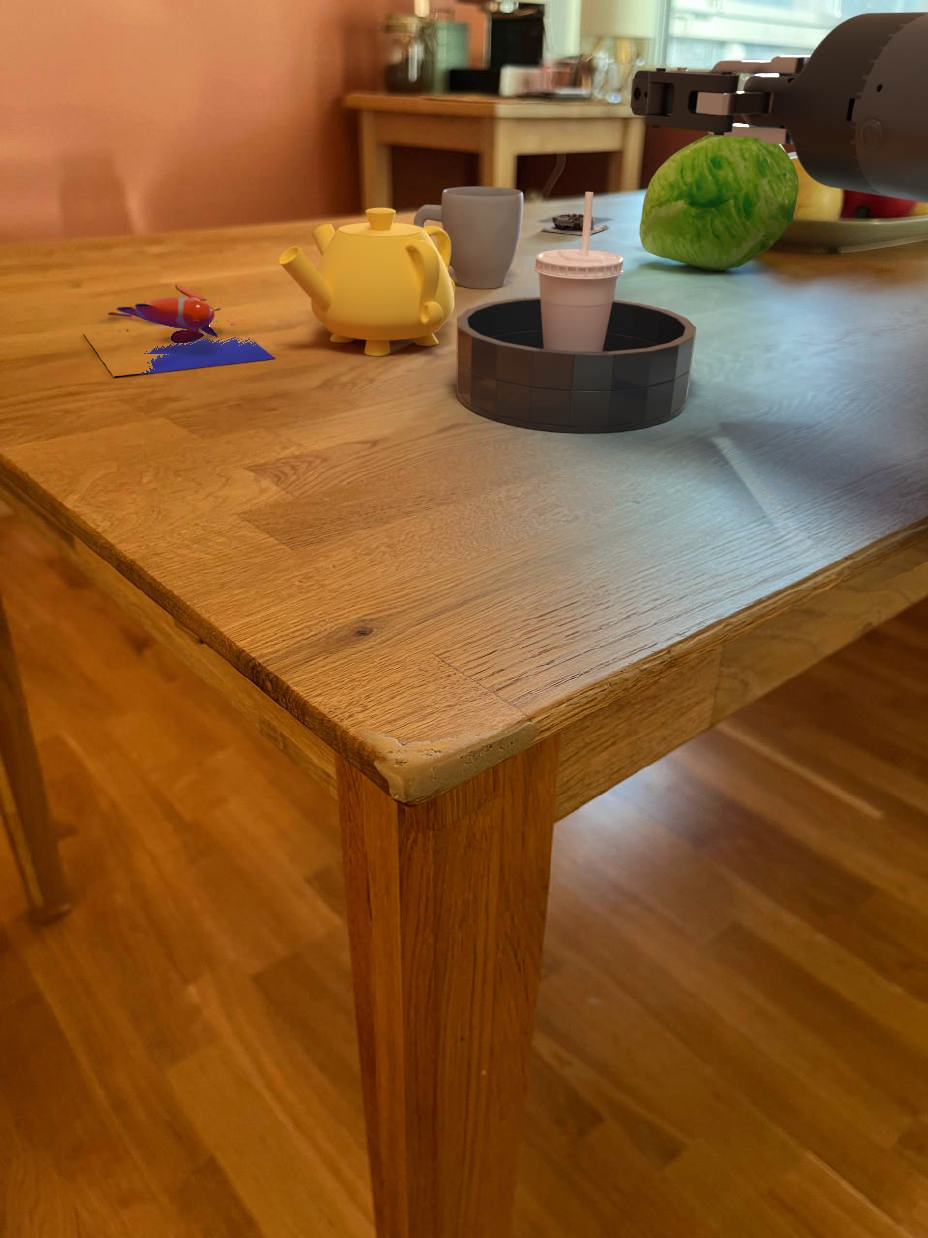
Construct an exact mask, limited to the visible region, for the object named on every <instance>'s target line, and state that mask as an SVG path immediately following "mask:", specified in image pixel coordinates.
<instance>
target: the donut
mask: <svg viewBox="0 0 928 1238" xmlns="http://www.w3.org/2000/svg"><path fill="white" fill-rule="evenodd" d="M583 219H584V214H581V213H578V214H577V213H572V214H571V213H568V214H567V213H565V214H560V215H557V216H552V217H551V221H552V223H553V225H552V226H547V227H543V228H542V229H541V230H540V231H541V232H549V233H550V232H551V233H559V234H569V235H578V236H582V233H583ZM595 223H596V220H595V218H594V217H593V216H592V218H591V231H590V236H591V235H593V234H594V233H595V234H596V233H599V232H601V231H604V230H606V229H609V228H610V226H608V224H605V225H596V224H595Z"/></svg>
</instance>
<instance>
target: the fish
mask: <svg viewBox="0 0 928 1238" xmlns="http://www.w3.org/2000/svg"><path fill="white" fill-rule="evenodd" d="M174 287H175V289H176V290H177V291H178V292H179V293H181V294H182V295H185V296H166V297H160V298H154V299H151V300H147V301H143V302H141V303H135V305H134V306H118V307H116V311H111V312H110V311H109V312H107V316H110V317H113V318H118V319H121V320H127V321H132V322H137V323H138V322H146V321H147V322H150V323H152V324H156V325H160V326H169V327H174V328H182V329H187V330H180V331H176V332H174V333H173V334H172V336H171V340H172V341H173V342H174V343H177V344H179V343H183V344H184V343H188V342H190V343H191V342H195V341H197V340H199V339H201V337H203V336H204V334H203V333H201V332H199V329H201V330H202V331H204V332H205V333H207V334H210V335H212V336H215V337H218V336H217V334H216V333H215V332H214V330H213V329H212V328H211V327H210V325H209V324H210V323H211V322H212V321H214V319H215V315H216V314H215V312H218V311H221V308H220V307H218V308H215V309H214V308H213V306H211V305H210V304H209V303H207V302H206V301H208V300H207V299H206V298H205V297H204V296H202V295H200V294H198V293H197V292H195V291H192V289H189V288H187V287H185V286H183V285H180V284H175V285H174Z"/></svg>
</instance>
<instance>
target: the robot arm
mask: <svg viewBox="0 0 928 1238" xmlns="http://www.w3.org/2000/svg"><path fill="white" fill-rule="evenodd" d="M738 73H739V74H738ZM740 73H741V74H743V73H744V74H753V75H750V76H749V78H747V80H746V81H745V83H744V84H743V90H742V91H738V89H739V81H740ZM630 94H631V95H630V102H629V103H630V104H629V108H631V112H632V114H633V115H634V116H639V117H640V116H641V117H644V121H643V124H644V125H646V126H650V128H652V129H660V128H661V127H663V128H672V129H681V130H689V131H690V130H691V131H697V132H707V133H708V135H709V134H710V135H713V136H731V137H752V138H759V139H760V140H761V141H762V142H763V143H766V144H781V145H792V146H793V149H794V151H795V155H796V157H797V160H798V162H799V164H800V165H801V167H802V169H803V170H804V172H806V174H807V175H808V176H809V177H810V178H811V179H813V180H814V181H815V182H816V183H818V184H819V185H822V186H825V187H829V188H834V189H840V190H845V191H846V190H847V191H852V192H857V193H864V194H869V195H875V196H880V197H886V198H893V199H897V200H898V199H900V200H906V201H911V202H916V203H917V202H918V203H923V204H928V11H921V12H920V11H919V12H917V11H913V12H911V11H910V12H907V11H905V12H865V13H860V14H858V15H853V16H851V17H849V18H848V19H846V20H844V21H842V22H841V23H838V25H836V26H835V27H834V28H833V29H832V30H831V31H829V33H827V34H826V35H825V36H824V37H823V38H822V40H821V41H820V42H819V43H818V45H817V46H816V47H815V49H814V50H813V52H812V54H811V55H777V56H775V57H773V58H772V59H770V60H728V59H727V60H720V61H718V62H716V63H715V64H714V66H713V68H711V70H688V67H683V66H682V67H681V66H677V68H676V70H675V69H674V70H669V71H668V70H667V68H666V67H656V68H655V70H648V69H647V70H645V69H644V70H643V69H641V70H637V71H636V72H635V74H634V76H633V78H632V80H631V92H630ZM736 115H741V118H742V119H743V120H744V121H745V122H746V123H747V124H743V123H734V120H735V119H734V118H735V116H736Z"/></svg>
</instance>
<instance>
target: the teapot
mask: <svg viewBox="0 0 928 1238" xmlns="http://www.w3.org/2000/svg"><path fill="white" fill-rule="evenodd" d="M365 215H366V218H367V220H368V222H358V223H357V222H356V223H350V224H346V225H341V226H340V227H338V229H336V231H335V228H334V227H333V224H331V223H325V224H321V225H319V226H318V227H316V228H315V229H313V231H312V232H311V237H312V238H313V240H314V242H315V244H316V246H317V249H318V251H319V253H320V255H321V257H320V260H319V262H318V264H317V266H316V267H315V265H314V264H313V263H312V262H311V260H310V259H309V258H308V257H307V255H306V254H305V253H304V252H303V250H302V249H301V248H300V247H299V246H298V245H292V246H291V247H289V248H287V249H286V250H285V251H283V253H282V254H281V255H280V257H279V260H278V263H279V264H280V266H281V267H282V268H283V269H284V270H285V272H287V274H289V276H290V277H291V278H292V279H293V280H294V281H295V283H296V284H297V285H298V286H299V287H300V288H301V289H302V290H303V291H304V293H305V294H306V295H307V296H308V297H309V298H310V305H311V306H310V307H311V310H312V313H313V315H314V316H315V317H316V318H317V320H318V321H319V322H320V323H321V324H322V325H323V326H324V327H325V329H326V330H328V331H329V332H330V333H331V336H330V338H329V341H330V342H332V343H351V342H354V341H355V339H357V340H366V341H365V346H364V351H363V353H364V355H367V356H371V357H372V356H373V357H380V356H381V357H382V356H387V355H389V354H390V353H391V349H390V341H399V340H409V339H412V342H413V344H415V345H417V346H424V347H428V346H429V347H431V346H436V345H438V344H439V341H438V339H437V338H436V336H435V334H434V333H436V332H438V331H439V330H440V329H441V328H442V327H443V326H444V325H445V324H446V322H448V320H449V318H450V317H451V316H452V314H453V312H454V309H455V291H456V283H455V282H454V280H453V278H451V275H450V274H449V267H450V266H449V263H450V256H451V241H450V238H449V236H448V234H447V233H446V232H445V231H444V230H443V228H440V227H438V226H434V225H427V226H426V225H425V227H423V228H422V227H419V226H416V225H414V224H409V223H402V222H394V220H395V217H396V210H395V209H393V208H390V207H371V208H368V209H366V210H365ZM432 236H434V237H435V238H436V241H437V246H436V245H435V243H434V242H433V239H432V238H431V237H432Z"/></svg>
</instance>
